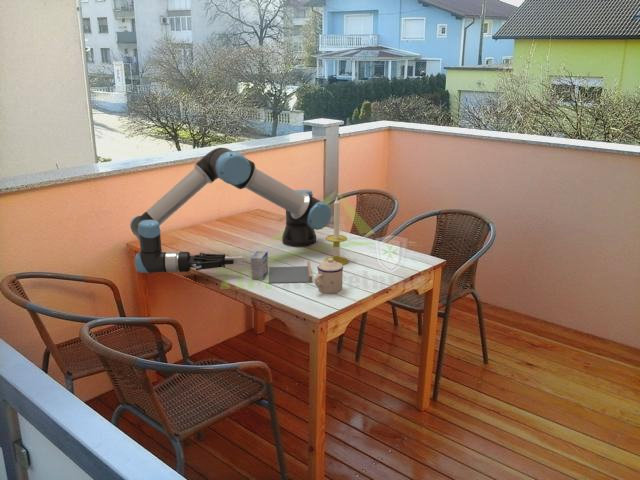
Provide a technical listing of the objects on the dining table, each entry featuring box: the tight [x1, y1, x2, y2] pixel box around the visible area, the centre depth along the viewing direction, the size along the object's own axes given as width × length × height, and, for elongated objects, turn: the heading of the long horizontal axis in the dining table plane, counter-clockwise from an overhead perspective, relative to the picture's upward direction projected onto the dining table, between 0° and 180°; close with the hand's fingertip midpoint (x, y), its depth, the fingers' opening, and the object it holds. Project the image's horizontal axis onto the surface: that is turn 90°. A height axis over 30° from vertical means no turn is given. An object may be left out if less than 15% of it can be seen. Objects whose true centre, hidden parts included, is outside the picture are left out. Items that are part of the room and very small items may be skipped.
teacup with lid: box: [314, 257, 344, 295], centre depth 208 cm, size 12×9×12 cm
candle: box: [323, 197, 349, 266], centre depth 235 cm, size 10×10×27 cm
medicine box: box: [250, 250, 269, 281], centre depth 222 cm, size 8×4×9 cm, turn 170°
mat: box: [268, 260, 313, 285], centre depth 224 cm, size 16×16×2 cm
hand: (242, 260), depth 221 cm, fingers closed
